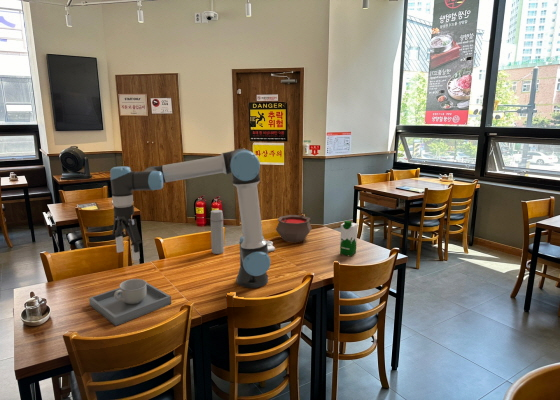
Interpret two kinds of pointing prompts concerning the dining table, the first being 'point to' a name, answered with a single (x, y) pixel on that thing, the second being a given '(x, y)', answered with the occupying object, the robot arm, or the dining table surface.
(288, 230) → the cooking pot
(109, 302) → the tray
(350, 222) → the milk carton
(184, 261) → the dining table surface
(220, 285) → the dining table surface
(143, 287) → the teacup
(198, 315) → the dining table surface
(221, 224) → the water bottle
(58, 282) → the dining table surface
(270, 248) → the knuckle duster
